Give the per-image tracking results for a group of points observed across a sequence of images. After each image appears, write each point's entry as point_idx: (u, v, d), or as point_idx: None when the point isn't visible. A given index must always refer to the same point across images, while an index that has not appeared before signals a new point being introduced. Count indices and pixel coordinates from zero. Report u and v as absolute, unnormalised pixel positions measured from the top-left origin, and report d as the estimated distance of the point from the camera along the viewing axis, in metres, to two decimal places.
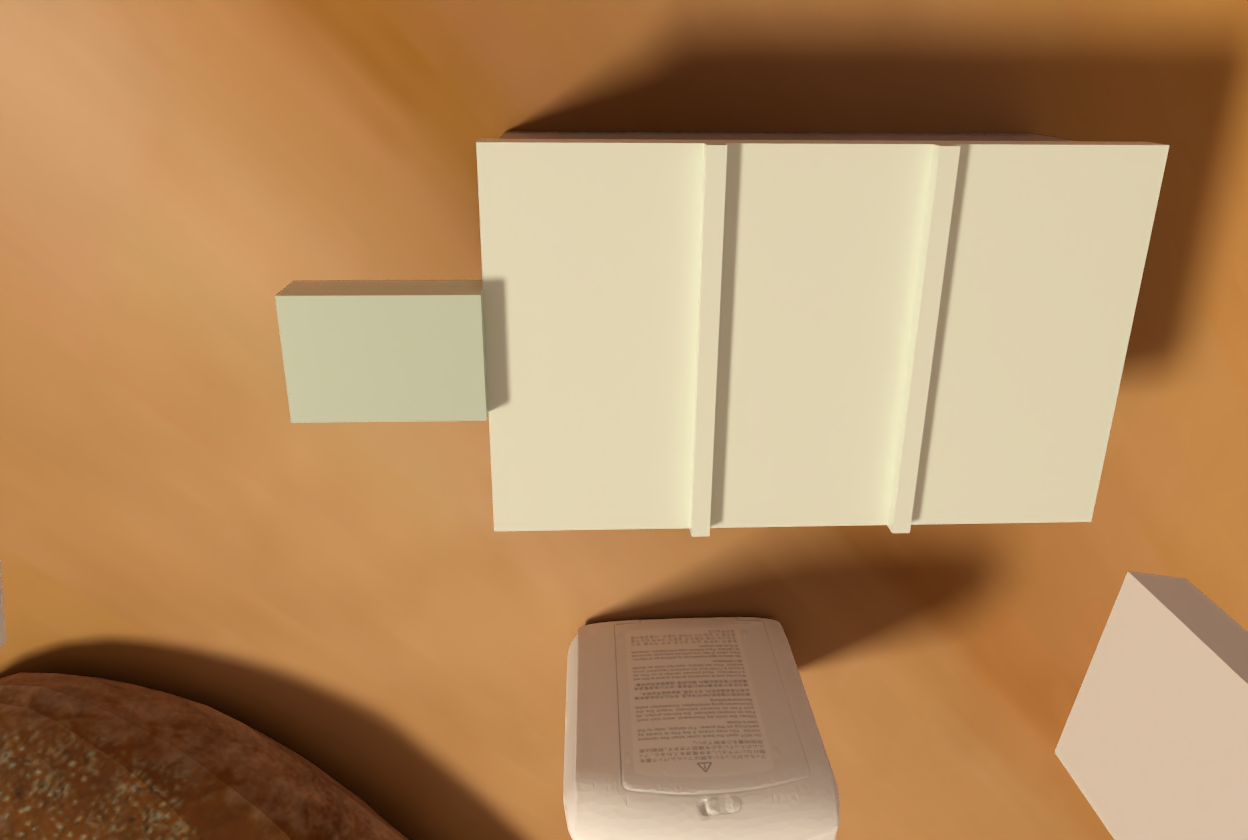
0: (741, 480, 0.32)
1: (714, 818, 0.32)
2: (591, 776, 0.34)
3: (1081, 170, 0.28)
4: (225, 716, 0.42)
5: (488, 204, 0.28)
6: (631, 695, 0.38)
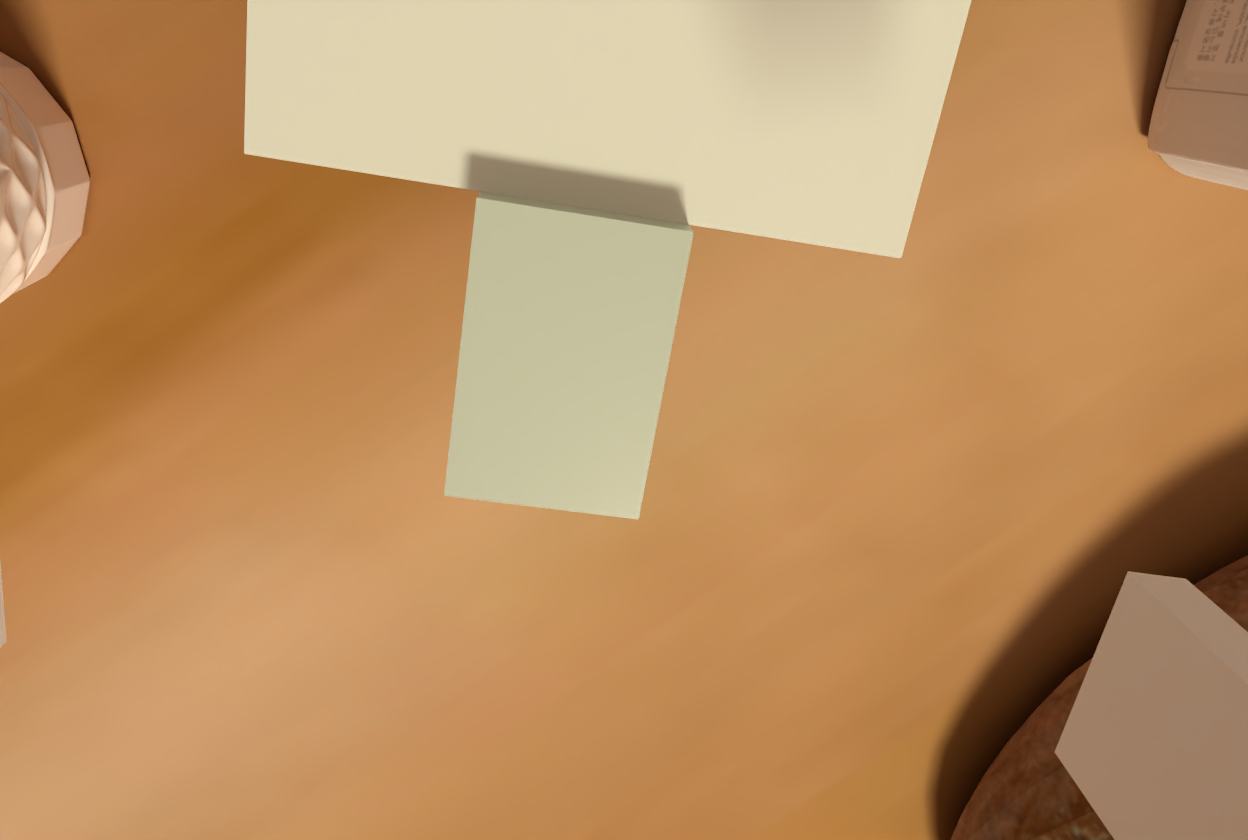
0: None
1: None
2: None
3: None
4: None
5: (343, 154, 0.17)
6: None
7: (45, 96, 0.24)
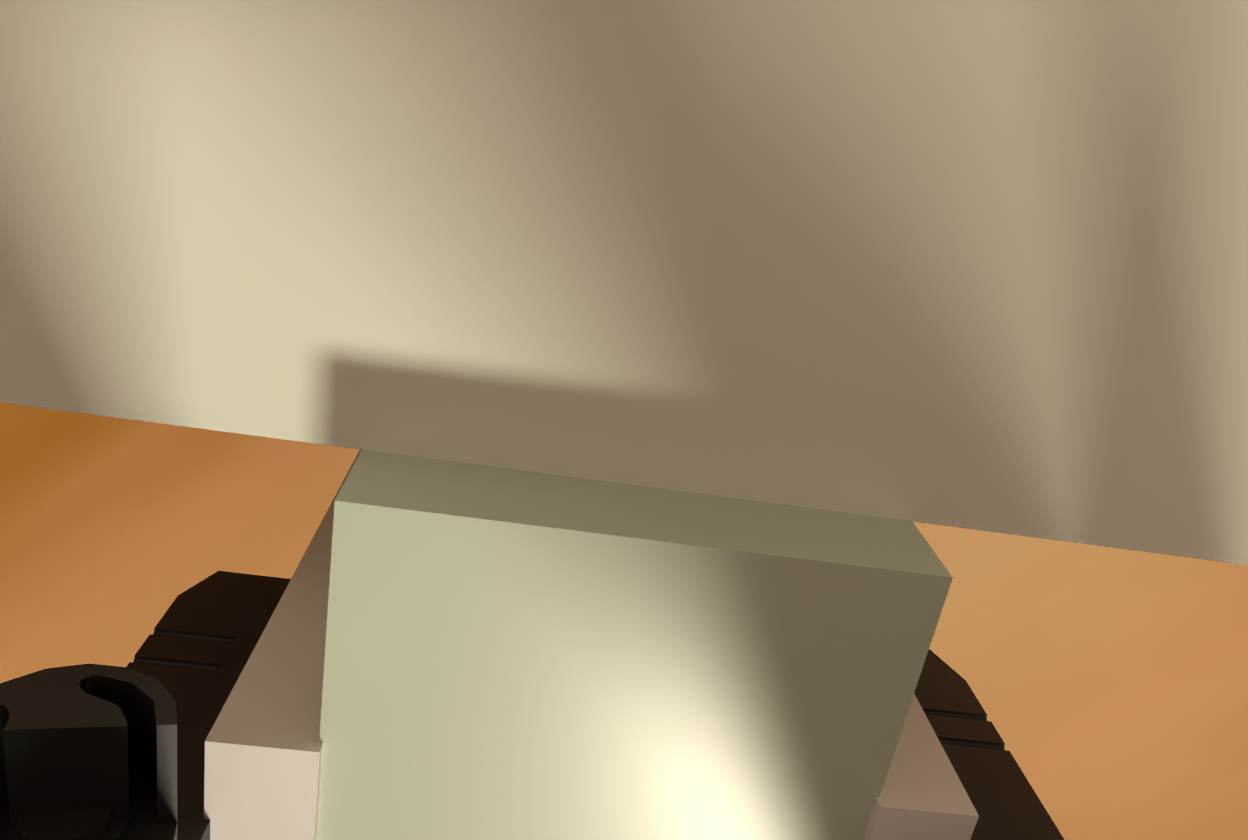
0: None
1: None
2: None
3: None
4: None
5: None
6: None
7: None
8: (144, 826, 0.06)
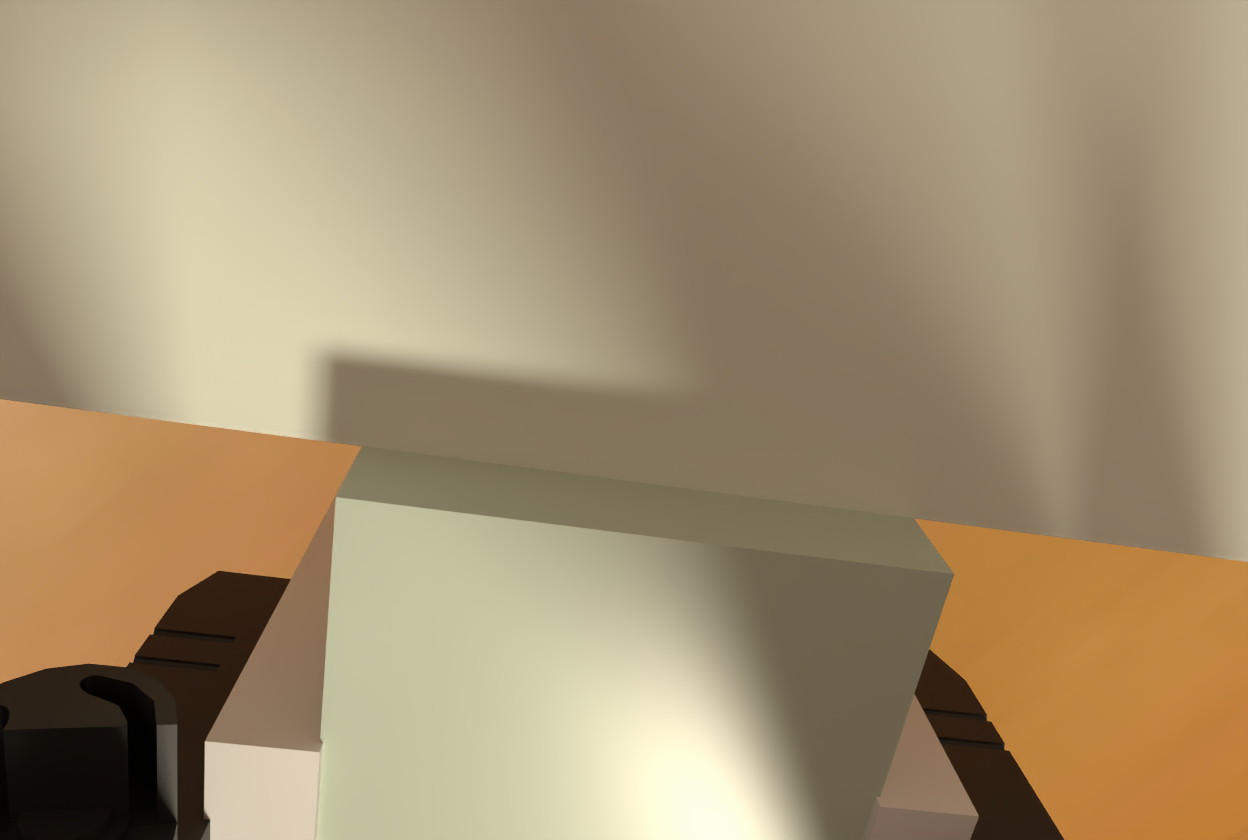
0: None
1: None
2: None
3: None
4: None
5: None
6: None
7: None
8: (144, 826, 0.06)
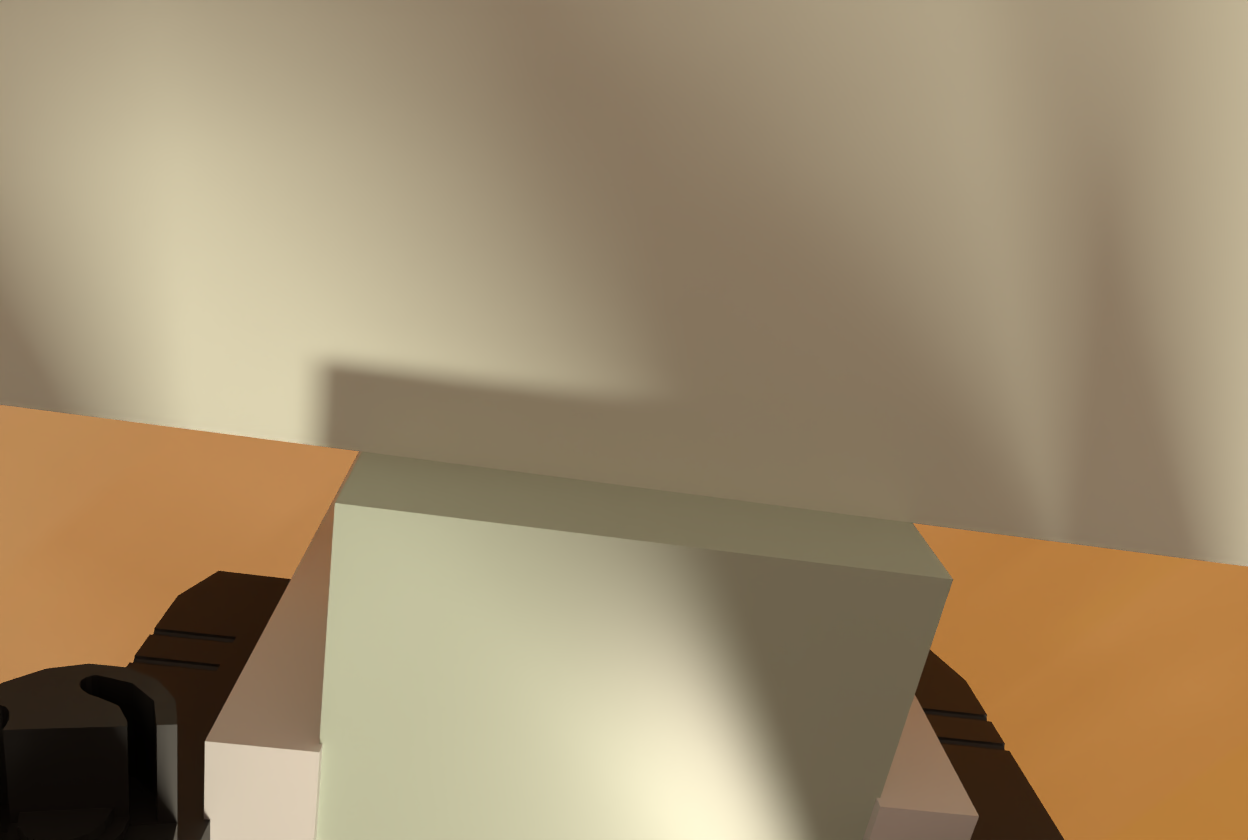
0: None
1: None
2: None
3: None
4: None
5: None
6: None
7: None
8: (144, 826, 0.06)
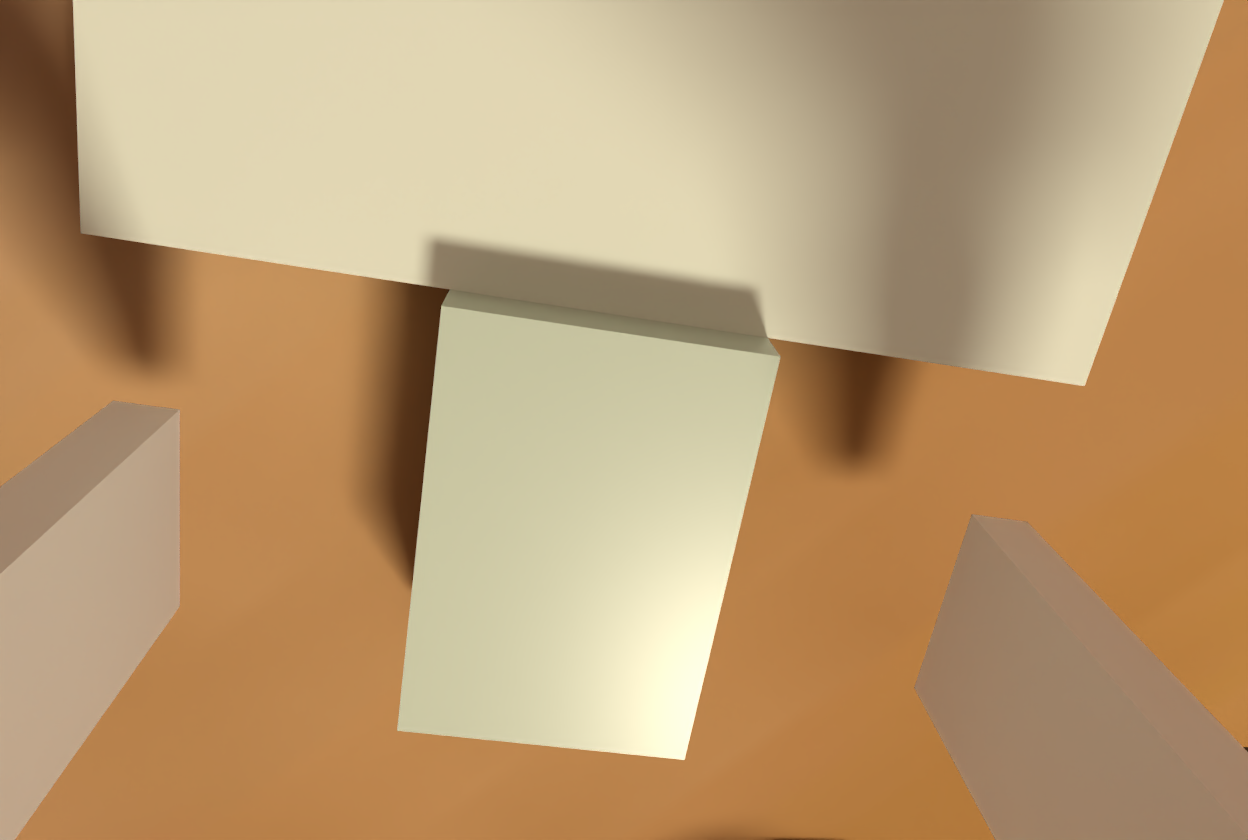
0: None
1: None
2: None
3: None
4: None
5: (236, 233, 0.11)
6: None
7: None
8: None
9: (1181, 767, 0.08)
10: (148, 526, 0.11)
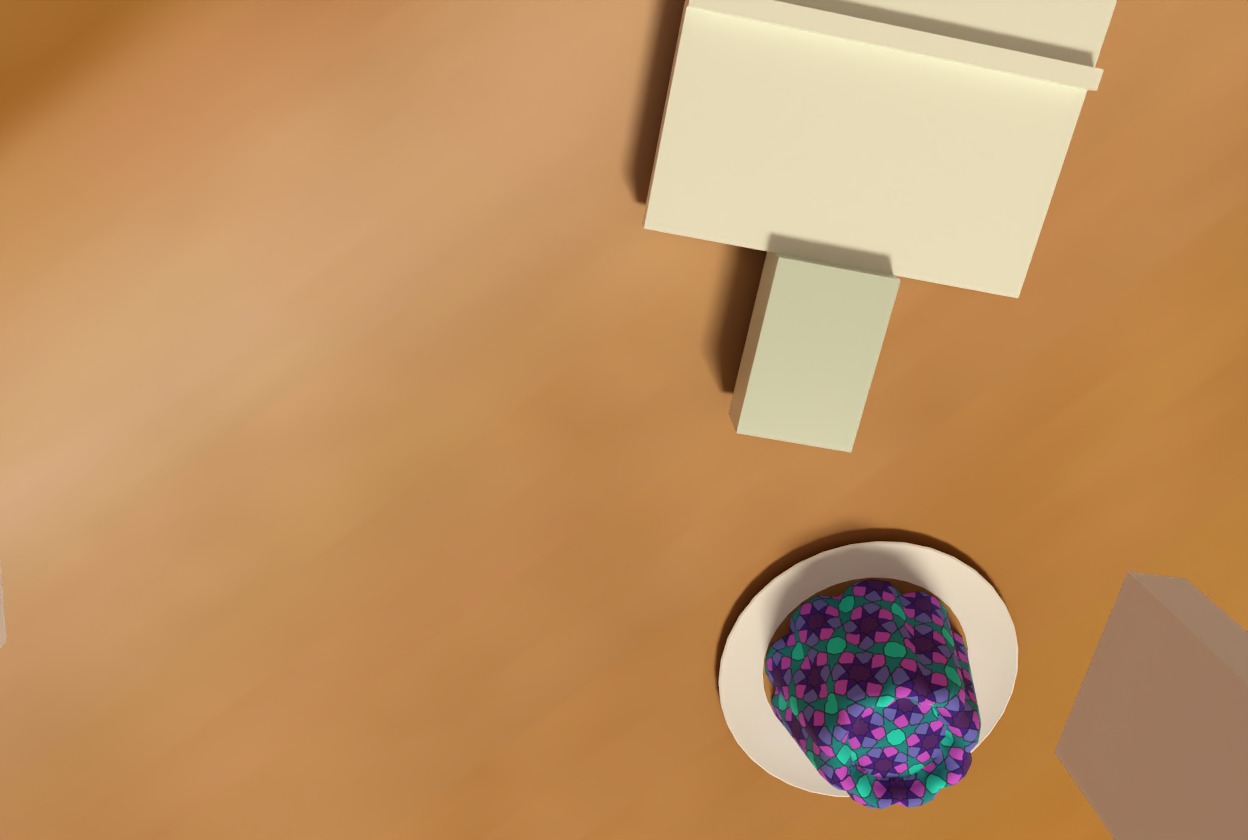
0: (1051, 20, 0.28)
1: None
2: None
3: None
4: None
5: (699, 229, 0.30)
6: None
7: None
8: None
9: None
10: None
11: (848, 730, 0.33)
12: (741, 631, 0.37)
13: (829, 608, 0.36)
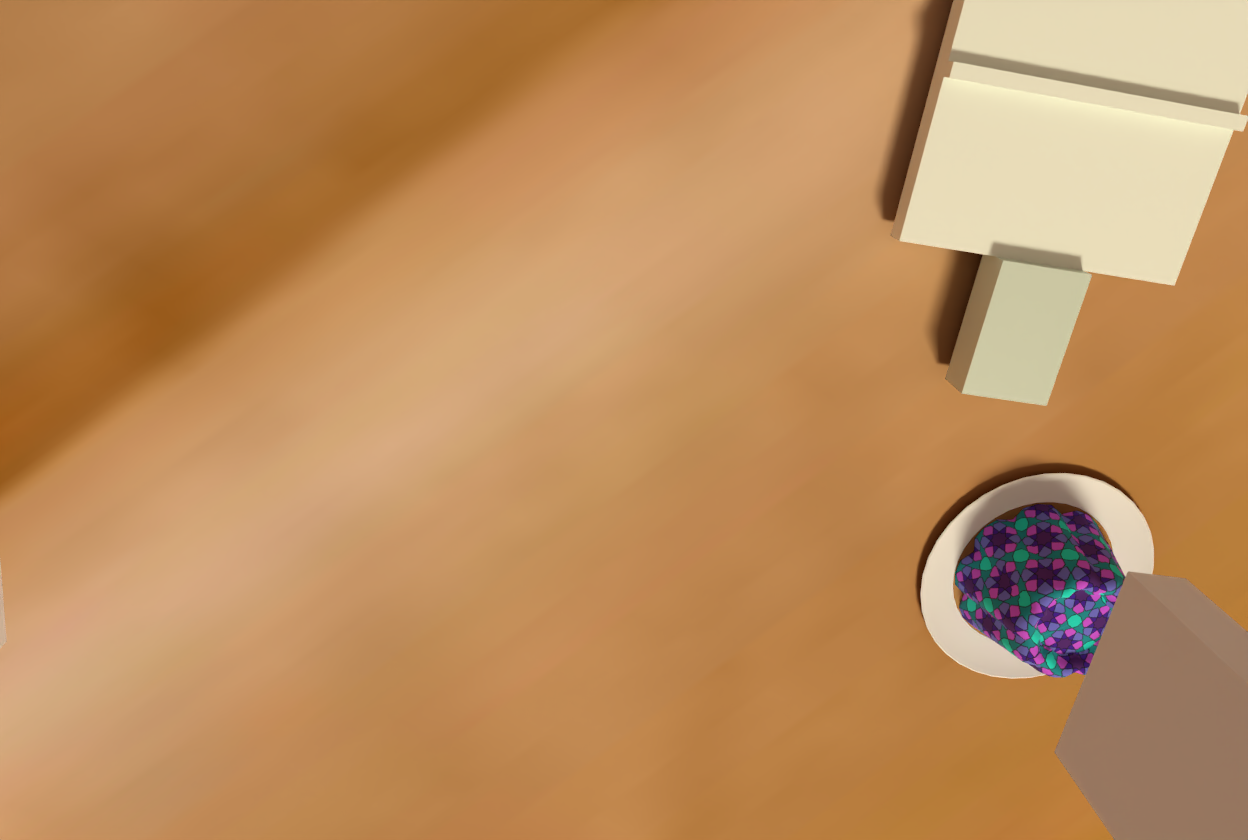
0: (1210, 79, 0.38)
1: None
2: None
3: None
4: None
5: (941, 240, 0.40)
6: None
7: None
8: None
9: None
10: None
11: (1040, 617, 0.44)
12: (938, 552, 0.48)
13: (1008, 528, 0.47)
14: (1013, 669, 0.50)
